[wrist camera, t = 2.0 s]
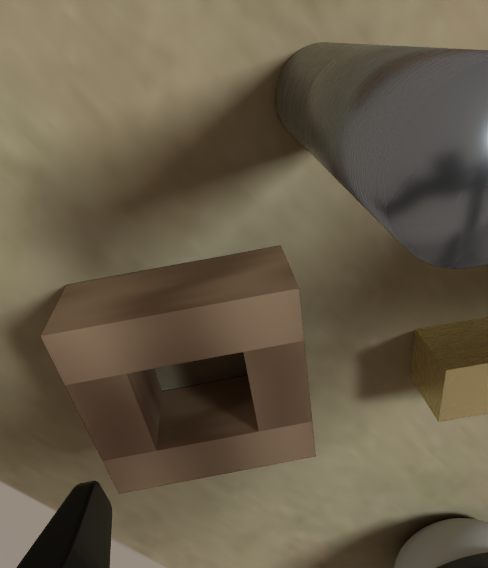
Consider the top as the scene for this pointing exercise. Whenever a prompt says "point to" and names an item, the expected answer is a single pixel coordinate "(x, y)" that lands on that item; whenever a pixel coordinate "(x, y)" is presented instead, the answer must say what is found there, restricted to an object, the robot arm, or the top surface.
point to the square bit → (452, 368)
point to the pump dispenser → (447, 545)
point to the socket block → (180, 349)
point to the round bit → (400, 138)
